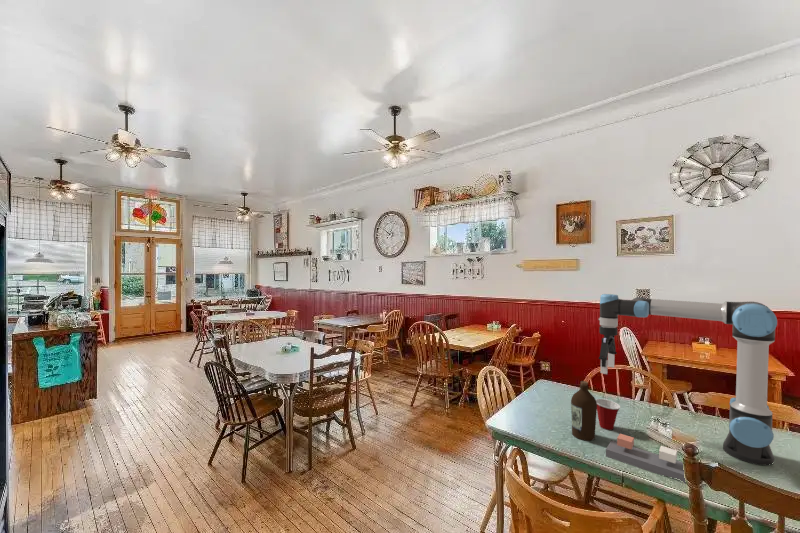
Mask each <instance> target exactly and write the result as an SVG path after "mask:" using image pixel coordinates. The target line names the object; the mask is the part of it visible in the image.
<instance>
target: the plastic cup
mask: <svg viewBox="0 0 800 533" xmlns="http://www.w3.org/2000/svg"><path fill="white" fill-rule="evenodd" d="M595 400H596V402H597V413H596V414H597V419H598V423H599V426H600V428H601V429H604V430H607V431H611V430H614V427H615V423H616V419H617V415H618V412H619V410H620V409H621V405H620V404H618V403H617V402H615V401H612V400H609V399H606V398H605V399H604V398H595Z"/></svg>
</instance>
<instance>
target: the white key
mask: <svg viewBox="0 0 800 533" xmlns="http://www.w3.org/2000/svg"><path fill="white" fill-rule="evenodd" d="M658 455H659V459H662V460H666V461H669V462H672V463H676V460H677V459H678V450H676V449H673V448H670V447H666V446H665V445H660V447H659V450H658Z"/></svg>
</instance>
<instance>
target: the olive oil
mask: <svg viewBox="0 0 800 533" xmlns="http://www.w3.org/2000/svg"><path fill="white" fill-rule="evenodd" d="M595 399H596V398H595V397H594V395H593V394H592V393H591V392H590V391H589V382H588V381H585V380H581V381H580V384H579V389H578V390H577V391H576V392H575V393H573V394H572V396H571V399H570V409H571V434H572V435H573V437H574V438H576V439H578V440H581V441H587V442H590V441H591V442H592V441H594V440H595V439H596V423H597V414H598V413H597V402H596V400H595Z"/></svg>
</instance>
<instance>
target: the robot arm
mask: <svg viewBox="0 0 800 533" xmlns="http://www.w3.org/2000/svg"><path fill="white" fill-rule="evenodd" d="M649 315H650V316H651V315H653V316H660V317H662V316H664V317H671V318H672V317H674V318H683V319H695V320H703V321H704V320H705V321H715V322H717V321H718V322H722V323H723V324H726V325H730V326H731V325H732V331H731V332H732V338H734V339H735V340H736V341H737V342H736V343H737V344H736V346H737V347H736V381H735V384H736V385H735V397H731V398H730V399H729V402H728V403H729V422H728V423H729V424H728V425H729V426H728V427H729V429H728V433H727V436H726V437H725V439H724V441H723V444H722V449H723V451H724V453H726V454H728V455H729V456H731V457H734V458H735V459H737V460H739V461H742V462H746V463H750V464H753V463H754V465H758V466H770V465H769V464H772V463H773V462H774V463H775V456H774V454H773V451H772V449H771V444H772V442H773V440H774V437H775V436H774V432H773V411H772V410H771V409H770V407H769V405H768V386H769V385H768V384H769V383H768V379H769V353H770V351H769V349H770V348H769V346H770V345H772V344H773V343H774V342H775V341H776V328H777V326H778V319H777V318H778V317H777V316H776V314H775V313H774V312H773V310H772V309H771V308H769V307H768V306H767V305H765V304H763V303H761V302H758V301H725V302H723V303H718V302H717V303H716V302H705V301H704V302H702V301H690V300H689V301H687V300H672V299H659V298H658V299H656V298H644V297H635V298H633V299H622V298H619V295H618V294H614V293H613V294H611V293H603V294H601V295H600V299H599V317H598V321H599V328H598V329H599V334H600V335H603V337H602V338H601V345H600V351H599V357H598V360H600V374H603V375H608V368H615V359H616V358H615V357H616V356H615V355H617V354H618V353H617V349H616V343H615V337H616V336H618V326H619V323H618V322H619V316H626V317H634V318H648V316H649ZM772 465H773V464H772Z"/></svg>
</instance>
